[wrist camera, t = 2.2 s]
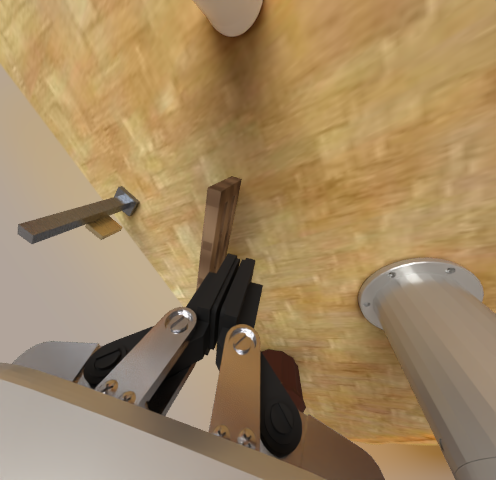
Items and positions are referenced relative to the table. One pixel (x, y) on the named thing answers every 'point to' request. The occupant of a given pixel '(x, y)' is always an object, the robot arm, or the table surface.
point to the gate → (217, 225)
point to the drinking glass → (230, 14)
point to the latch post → (82, 219)
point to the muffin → (286, 375)
